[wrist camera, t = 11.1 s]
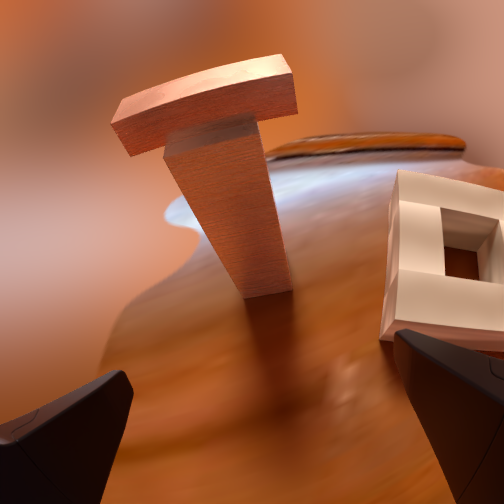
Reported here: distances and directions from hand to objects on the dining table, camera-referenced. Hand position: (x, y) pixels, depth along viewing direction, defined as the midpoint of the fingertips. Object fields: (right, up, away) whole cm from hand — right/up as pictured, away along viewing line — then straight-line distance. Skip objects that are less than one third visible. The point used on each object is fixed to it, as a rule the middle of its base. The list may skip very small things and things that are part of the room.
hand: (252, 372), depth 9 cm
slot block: (+14, +2, +8) cm, 16 cm away
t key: (+1, +2, +11) cm, 12 cm away
